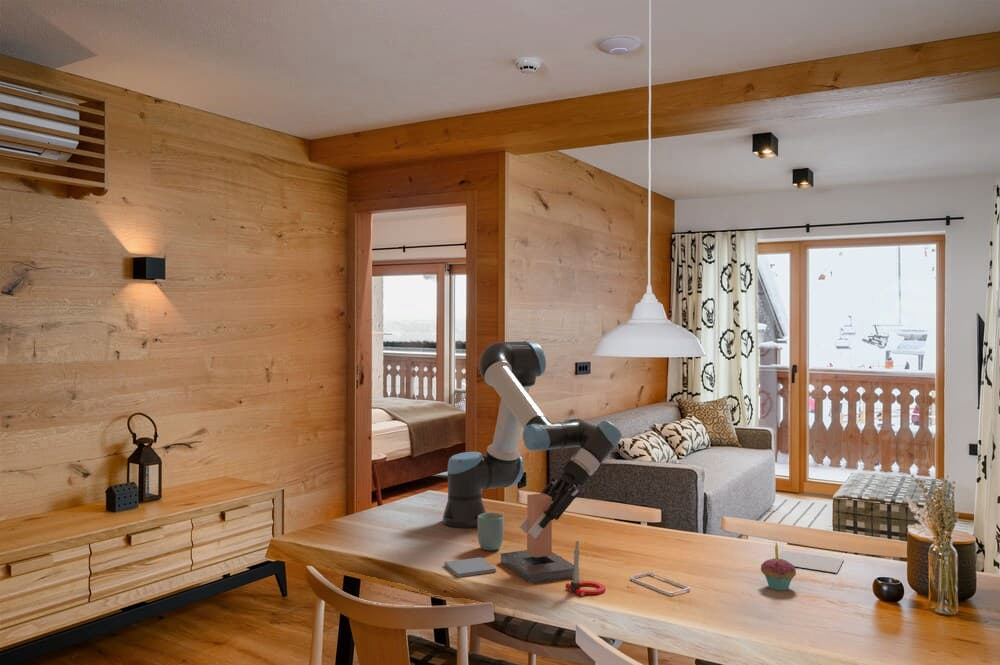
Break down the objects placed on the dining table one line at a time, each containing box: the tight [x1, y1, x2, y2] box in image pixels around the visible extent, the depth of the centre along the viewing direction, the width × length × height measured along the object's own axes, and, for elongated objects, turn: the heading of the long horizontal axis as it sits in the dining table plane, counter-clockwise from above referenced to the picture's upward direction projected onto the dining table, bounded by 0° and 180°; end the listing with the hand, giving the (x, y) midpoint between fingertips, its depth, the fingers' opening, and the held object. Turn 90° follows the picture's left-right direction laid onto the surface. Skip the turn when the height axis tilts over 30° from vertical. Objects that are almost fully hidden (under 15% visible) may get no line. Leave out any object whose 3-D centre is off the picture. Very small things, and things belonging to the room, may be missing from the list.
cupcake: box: [760, 542, 797, 591], centre depth 194 cm, size 9×8×12 cm
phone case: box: [629, 571, 691, 597], centre depth 196 cm, size 7×1×15 cm
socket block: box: [500, 549, 580, 584], centre depth 209 cm, size 20×14×2 cm
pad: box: [443, 556, 497, 578], centre depth 209 cm, size 11×11×1 cm
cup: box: [476, 512, 505, 552], centre depth 228 cm, size 8×8×10 cm
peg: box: [526, 492, 553, 558], centre depth 208 cm, size 5×5×16 cm
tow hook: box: [564, 540, 606, 597], centre depth 192 cm, size 8×13×9 cm
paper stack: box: [778, 550, 845, 574], centre depth 216 cm, size 23×25×1 cm
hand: (527, 532), depth 207 cm, fingers closed on peg, 5 cm apart
